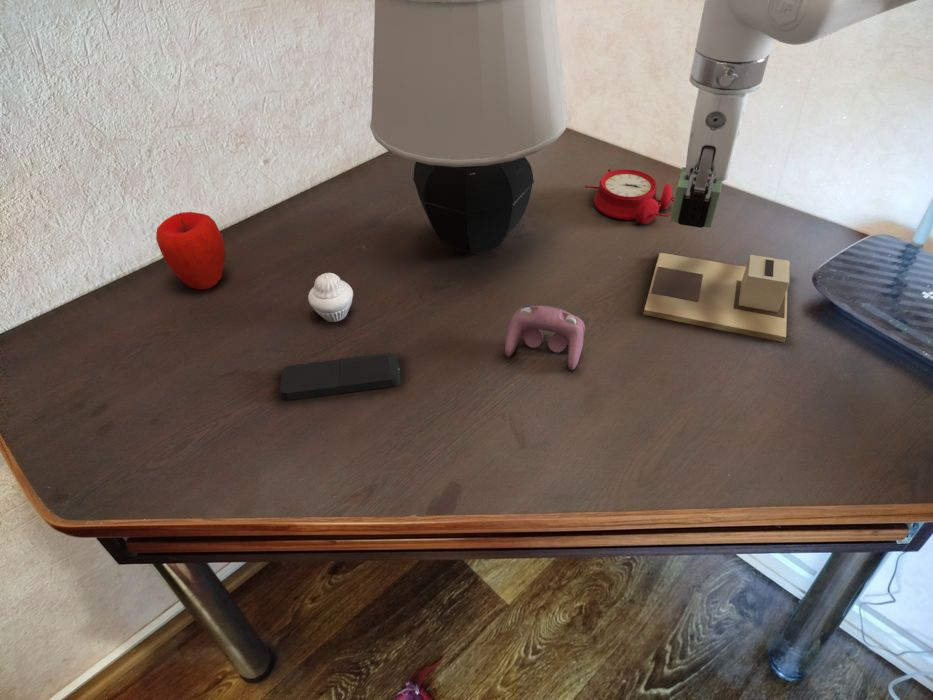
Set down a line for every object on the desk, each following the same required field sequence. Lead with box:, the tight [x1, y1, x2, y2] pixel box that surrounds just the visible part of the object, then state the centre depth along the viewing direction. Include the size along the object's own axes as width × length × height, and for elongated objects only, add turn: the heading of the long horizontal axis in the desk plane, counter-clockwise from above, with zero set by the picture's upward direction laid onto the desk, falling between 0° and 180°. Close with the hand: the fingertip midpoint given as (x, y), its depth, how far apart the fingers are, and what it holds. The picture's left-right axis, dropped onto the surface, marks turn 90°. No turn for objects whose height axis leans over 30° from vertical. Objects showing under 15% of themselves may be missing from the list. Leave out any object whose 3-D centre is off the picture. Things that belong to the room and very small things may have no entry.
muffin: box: [307, 272, 354, 323], centre depth 88 cm, size 6×6×7 cm
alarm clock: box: [584, 168, 675, 225], centre depth 106 cm, size 10×6×15 cm
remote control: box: [279, 352, 402, 401], centre depth 81 cm, size 5×2×15 cm
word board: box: [643, 252, 788, 343], centre depth 89 cm, size 18×14×1 cm
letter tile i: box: [669, 166, 723, 229], centre depth 80 cm, size 5×5×5 cm
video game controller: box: [504, 305, 586, 371], centre depth 82 cm, size 10×5×7 cm, turn 71°
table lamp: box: [369, 0, 570, 255], centre depth 88 cm, size 27×27×40 cm
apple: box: [155, 211, 226, 290], centre depth 94 cm, size 9×9×11 cm
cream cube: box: [739, 254, 791, 312], centre depth 86 cm, size 5×5×5 cm
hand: (693, 211), depth 82 cm, fingers closed on letter tile i, 5 cm apart
